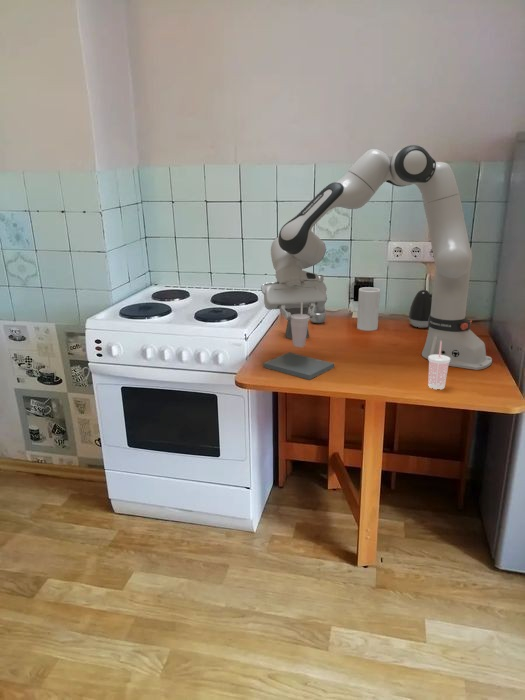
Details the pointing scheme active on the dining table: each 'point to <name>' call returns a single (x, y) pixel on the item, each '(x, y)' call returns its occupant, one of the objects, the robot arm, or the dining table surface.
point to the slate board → (299, 365)
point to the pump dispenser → (420, 309)
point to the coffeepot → (292, 311)
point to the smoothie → (299, 328)
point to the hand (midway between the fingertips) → (300, 318)
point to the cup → (368, 308)
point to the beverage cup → (438, 370)
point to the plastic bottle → (320, 307)
